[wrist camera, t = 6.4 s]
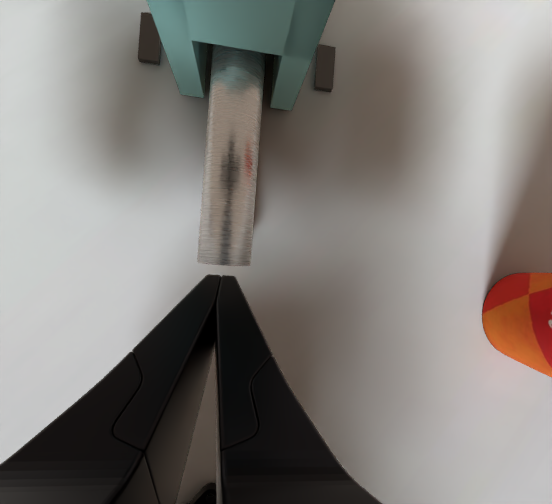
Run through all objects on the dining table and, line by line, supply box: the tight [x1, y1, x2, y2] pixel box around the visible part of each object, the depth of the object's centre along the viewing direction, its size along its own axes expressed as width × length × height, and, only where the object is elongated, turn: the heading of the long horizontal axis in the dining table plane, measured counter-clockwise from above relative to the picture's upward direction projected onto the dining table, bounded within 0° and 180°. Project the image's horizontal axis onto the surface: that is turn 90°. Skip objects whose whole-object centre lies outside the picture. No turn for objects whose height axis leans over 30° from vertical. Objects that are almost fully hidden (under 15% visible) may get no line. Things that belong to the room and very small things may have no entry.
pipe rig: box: [138, 12, 335, 266], centre depth 13 cm, size 18×11×5 cm, turn 176°
